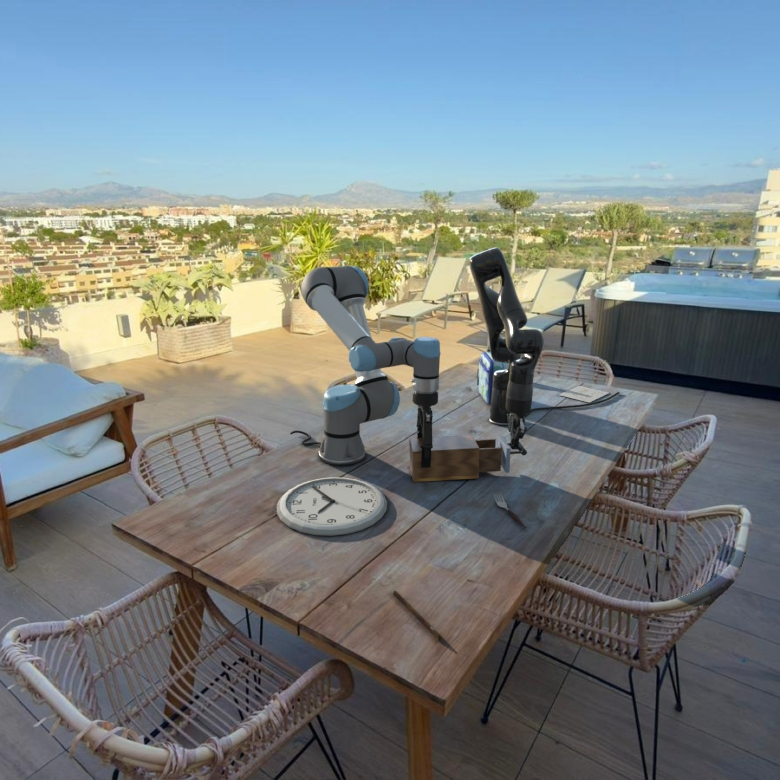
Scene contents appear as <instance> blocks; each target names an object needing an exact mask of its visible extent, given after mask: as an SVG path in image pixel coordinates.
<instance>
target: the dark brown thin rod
mask: <svg viewBox="0 0 780 780" xmlns="http://www.w3.org/2000/svg"><path fill="white" fill-rule="evenodd" d="M392 595H393V596H394V597H395V598H396V599H397V600H398V601H399V602H400V603H401V604H402V605H403V606H404V607H405V608H406V609H407V610H408V612H410V613H411V614H412V615H413V616H414V618H416V619H417V620H418V621H419V622H420V623H421V624H422V625H423V626H424V628H426V629H427V630H428V631H429V633H430V634H431V635H432V636H433V637H434V638H435V639H436V640H437V641H439V640H441V635H440V634H439V633H438V631H436V629H435V628H434V627H433V626H432V625H431V624H430V623H429V622H428V621H427V620H426V619H425V618H424V617H423V616H422V615H421V614H420V613H419V612H418V611H417V610H416V609H415V608H414V607H413V606H412V605H411V604H410V603H409V602H408V601H407V600H406V599H405V598H404V597H403V596H402V595H401V593H399V592H398V591H397V590H394V591H393V593H392Z"/></svg>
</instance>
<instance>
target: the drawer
mask: <svg viewBox="0 0 780 780" xmlns="http://www.w3.org/2000/svg"><path fill="white" fill-rule="evenodd" d="M475 441H476V443H477V445H478V446H479V473H491V472H501V471H502V469H503V471H504V472H505V474H510V469H511V455H517V454H519V455H520V454H521V455H522V456H526V455H527V454H528V450H527V449H526V448H525V447H524V445H523V444H522V443H521V442H520V441H519V446H518V449H517V451H516V450H515V451H514V450H513V451H511V450H512V449H511V447H510V442H507V441H506V440H505V438H504V437H503V436H498V443H497V444H498V445H497V446H498V447H497V446H496V441H497V439H496V438H481V439H480V438H479V439H475Z"/></svg>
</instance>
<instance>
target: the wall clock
mask: <svg viewBox="0 0 780 780" xmlns="http://www.w3.org/2000/svg"><path fill="white" fill-rule="evenodd" d="M387 509H388V500H387V498H386V496H385V494H384V493H383V492H382V491H381V490H380V489H379V488H377V487H376V486H374V485H372V484H371V483H369V482H365V481H362V480H359V479H355V478H349V477H338V476H337V477H335V476H333V477H332V476H331V477H322V478H317V479H312V480H307V481H305V482H302V483H299V484H297V485H295V486H293V487H292V488H290V489H288V490H287V491H286V492H285V493H284V494H283V495H281V496H280V498H279V499H278V502H277V503H276V515H277V517H278V518H279V520H280V521H281V522H282V523H283V524H285V525H286V526H287V527H288V528H290V529H293V530H295V531H297V532H299V533H303V534H308V535H312V536H327V537H328V536H329V537H331V536H332V537H333V536H342V535H350V534H352V533H356V532H361V531H363V530H366V529H368V528H369V527H372V526H373V525H375V524H376V523H378V522H379V521H380V520H381V519H382V518H383V517H384V516H385V514H386V512H387Z"/></svg>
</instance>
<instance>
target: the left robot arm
mask: <svg viewBox="0 0 780 780" xmlns="http://www.w3.org/2000/svg"><path fill="white" fill-rule="evenodd" d="M369 288H370V283H369V280H368V277H367V275H366V273H365V271H363V269H361V268H359V267H358V266H352V265H342V266H318V267H314V268H313V269H311V270H310V271H308V272H307V273H306V274H305V276H304V277H303V279H302V282H301V288H300V289H301V296H302V298H303V301H304V303H305V304H306V305H307V307H308V308H309V309H310V310H312V311H314V312H316V313H318V315H319V316H320V317H321V319H322V320H323V321H324V322H325V323H326V325H327V326H328V327H329V328H330V329H331V331H332V332H333V333H334V334H335V335H336V337H337V338H338V340H340V341H341V343H342V344H343V345H344V346H345V348H346V349H347V350H348V351H349V352H348V362H349V363H350V367H351V369H352V370H353V371H354V373H355V377H356V380H355V381H354V383H353V384H351V383H349V384H339V385H334V386H332V387H330V388H328V389H327V390H326V391H325V392H324V394H323V401H322V409H323V437H322V439H321V441H312V442H308V441H310V440H311V439H312V436H311V435H310V434H309V433H308V432H305V431H302V430H292V431H291V432H290V433H289V434H290V435H293V434H302V435H304V436H306V437H307V438H305V439H303V440H301V442H300V443H301V445H302V446H312V445H313V446H314V445H320V446H319V449H318V458H319V460H320V461H321V462H322V463H325V464H327V465H331V466H340V467H341V466H342V467H343V466H350V465H355V464H358V463H360V462H362V461H363V460H364V459H365V458H366V446H365V444H364V441H363V439H362V437H361V432H360V431H361V430H360V429H361V424H364V423H369V422H372V421H377V420H380V419H381V420H382V419H386V418H388V417H392V416H393V415H395V413H397V411H398V409H399V406H400V402H401V397H400V396H401V395H400V390H399V388H398V386H397V385H396V384H395V383H394V382H392V381H389V378H388V375H386V374H385V373H384V372H382V369H387V368H392V367H399V366H407V367H411V368H413V369H412V370H413V374H412V377H413V379H411V380H410V382H411V383H412V388H413V390H412V403H413V404H414V405H416V406H417V419H416V428H417V429H416V431H417V433H416V434H417V435H416V438H422V442H423V445H422V446H420V448H422V456H421V468H430V467H431V448H433V445H432V437H433V418H434V415H433V409H432V407H433V406H436V405H437V404H438V403H439V391H438V390H439V388H440V361H441V360H440V359H441V343H440V342H441V341H440V340H439V339H438V338H436V337H429V336H420V337H416V338H415V339H414V340H411V339H407V338H405V337H397V336H396V337H392V338H391V339H389V340H388V341H383V342H375V341H374V340H373V336H372V333H371V331H370V330H371V329H370V326H369V323H368V318H367V315H366V311H365V307H364V305H365V303H366V302H367V296H368V295H369V291H370V290H369Z"/></svg>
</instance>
